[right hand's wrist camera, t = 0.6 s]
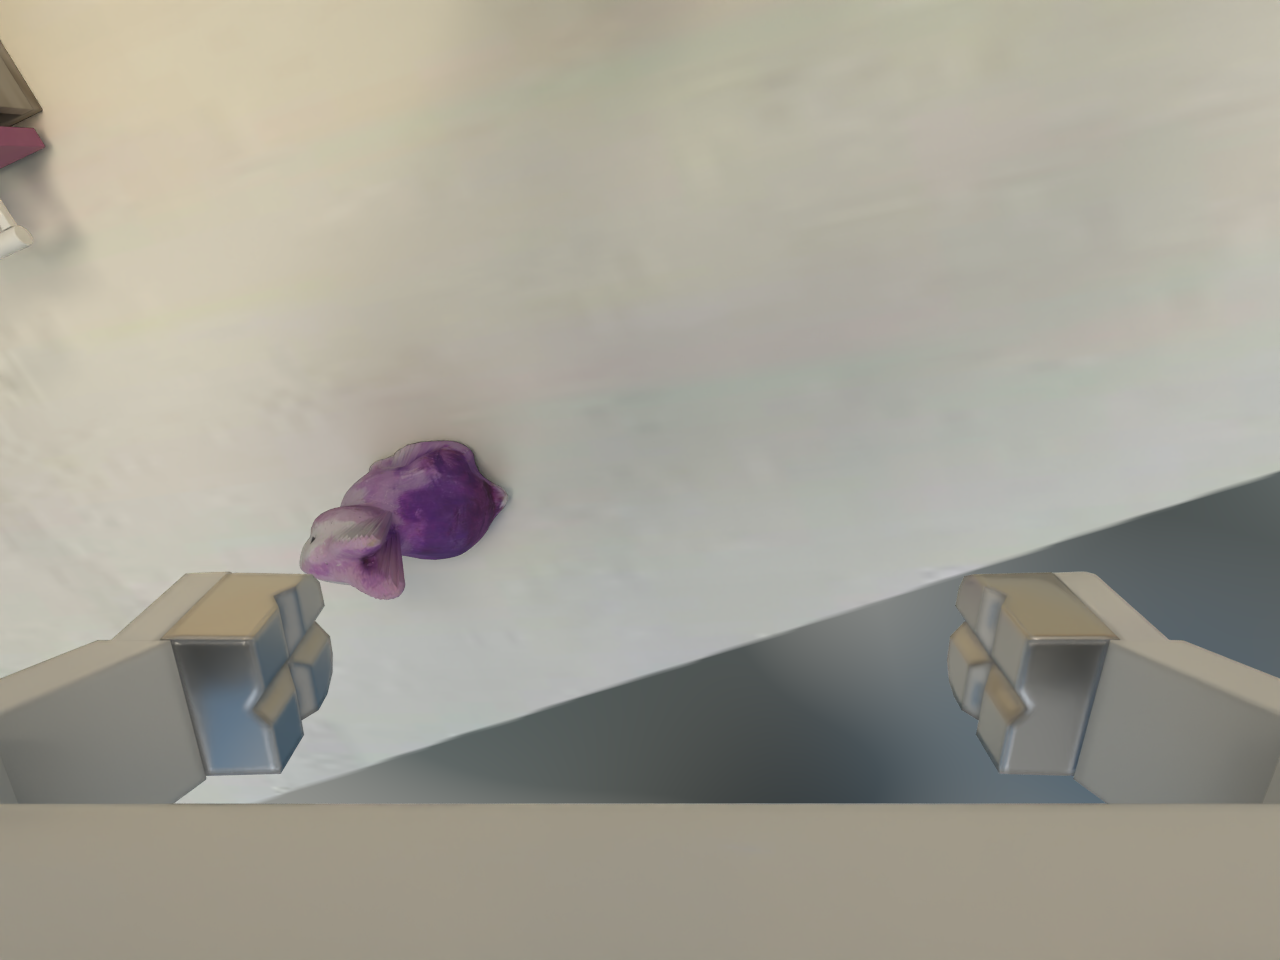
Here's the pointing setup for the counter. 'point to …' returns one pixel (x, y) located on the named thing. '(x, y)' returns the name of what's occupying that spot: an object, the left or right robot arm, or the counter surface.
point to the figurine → (403, 518)
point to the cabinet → (14, 93)
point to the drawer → (3, 150)
